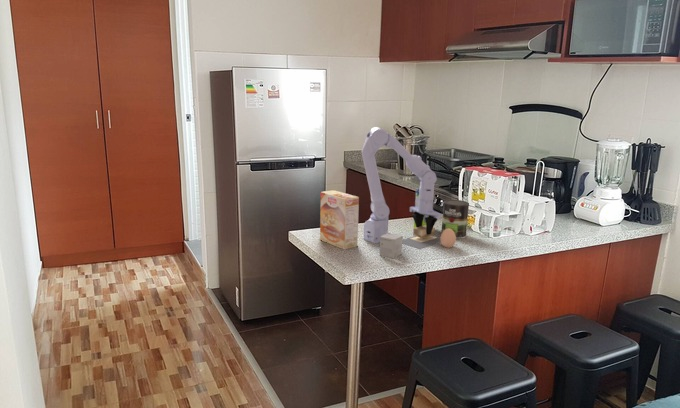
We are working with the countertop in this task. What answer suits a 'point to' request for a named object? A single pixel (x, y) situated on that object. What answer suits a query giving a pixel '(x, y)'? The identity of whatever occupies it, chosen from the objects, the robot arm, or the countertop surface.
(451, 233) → the egg
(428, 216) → the box
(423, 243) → the mat
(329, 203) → the coffeecake box
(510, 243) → the countertop surface
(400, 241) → the product box
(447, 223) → the coffee can
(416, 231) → the card box
